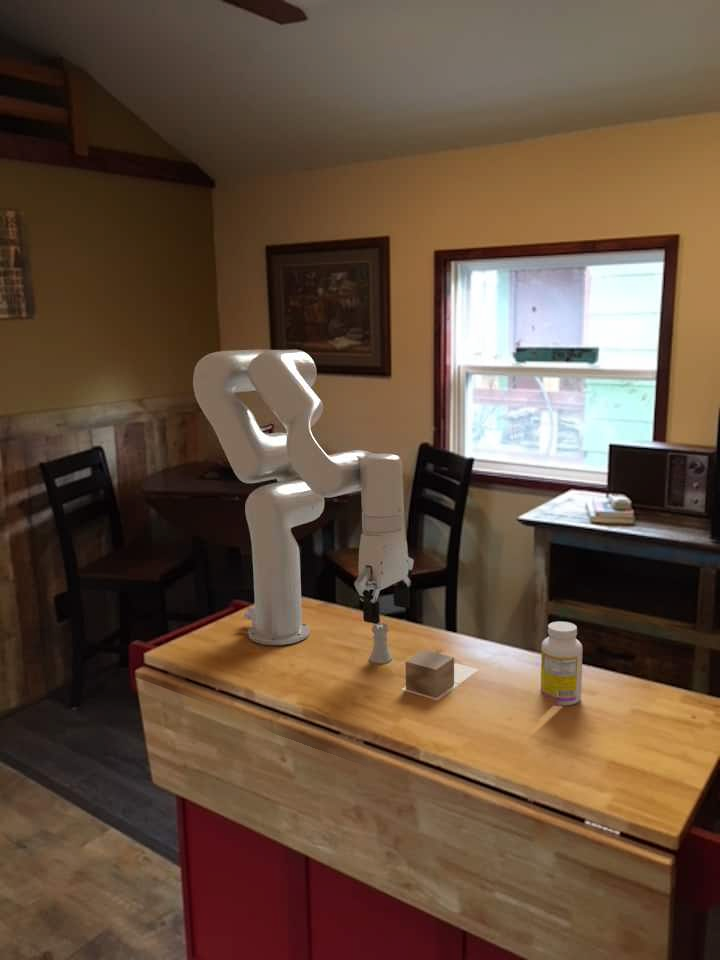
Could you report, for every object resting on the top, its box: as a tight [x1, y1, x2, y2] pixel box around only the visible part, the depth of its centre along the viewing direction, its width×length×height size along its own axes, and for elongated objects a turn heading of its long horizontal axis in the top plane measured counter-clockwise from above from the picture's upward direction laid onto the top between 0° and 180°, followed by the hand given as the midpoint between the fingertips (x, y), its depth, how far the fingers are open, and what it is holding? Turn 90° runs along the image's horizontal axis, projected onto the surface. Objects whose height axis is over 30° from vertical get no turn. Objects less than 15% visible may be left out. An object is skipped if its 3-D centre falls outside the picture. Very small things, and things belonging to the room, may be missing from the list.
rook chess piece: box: [369, 622, 393, 665], centre depth 150 cm, size 4×4×8 cm
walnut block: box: [405, 649, 455, 698], centre depth 138 cm, size 6×6×5 cm
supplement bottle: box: [540, 621, 583, 707], centre depth 135 cm, size 7×7×13 cm
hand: (387, 614), depth 148 cm, fingers open, 9 cm apart
